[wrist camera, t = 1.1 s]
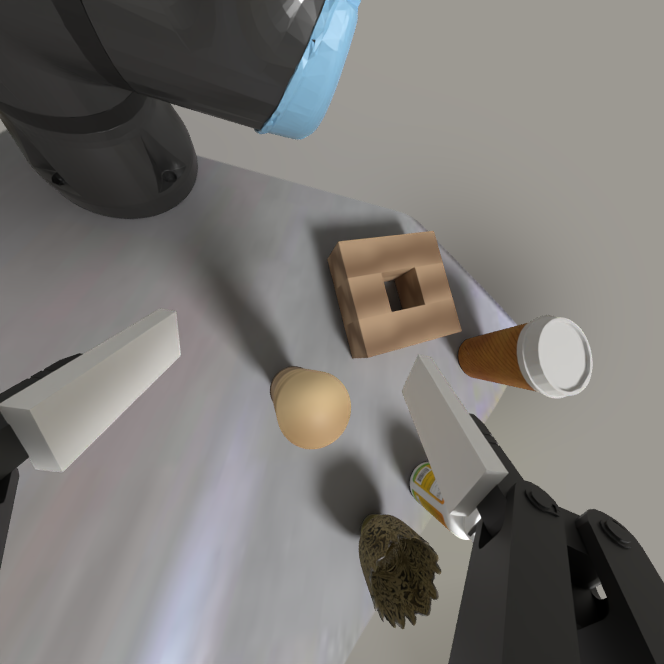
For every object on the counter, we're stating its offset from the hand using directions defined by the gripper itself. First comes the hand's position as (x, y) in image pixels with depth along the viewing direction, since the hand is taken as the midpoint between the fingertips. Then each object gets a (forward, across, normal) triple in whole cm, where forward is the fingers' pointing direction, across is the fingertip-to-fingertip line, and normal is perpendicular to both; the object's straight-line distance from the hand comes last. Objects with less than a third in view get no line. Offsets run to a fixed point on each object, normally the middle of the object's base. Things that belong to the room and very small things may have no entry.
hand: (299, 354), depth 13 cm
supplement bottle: (+8, +20, -23) cm, 31 cm away
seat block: (+21, +10, -2) cm, 24 cm away
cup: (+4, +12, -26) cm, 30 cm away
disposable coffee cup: (+20, +27, -9) cm, 35 cm away
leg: (+12, -1, -12) cm, 17 cm away
